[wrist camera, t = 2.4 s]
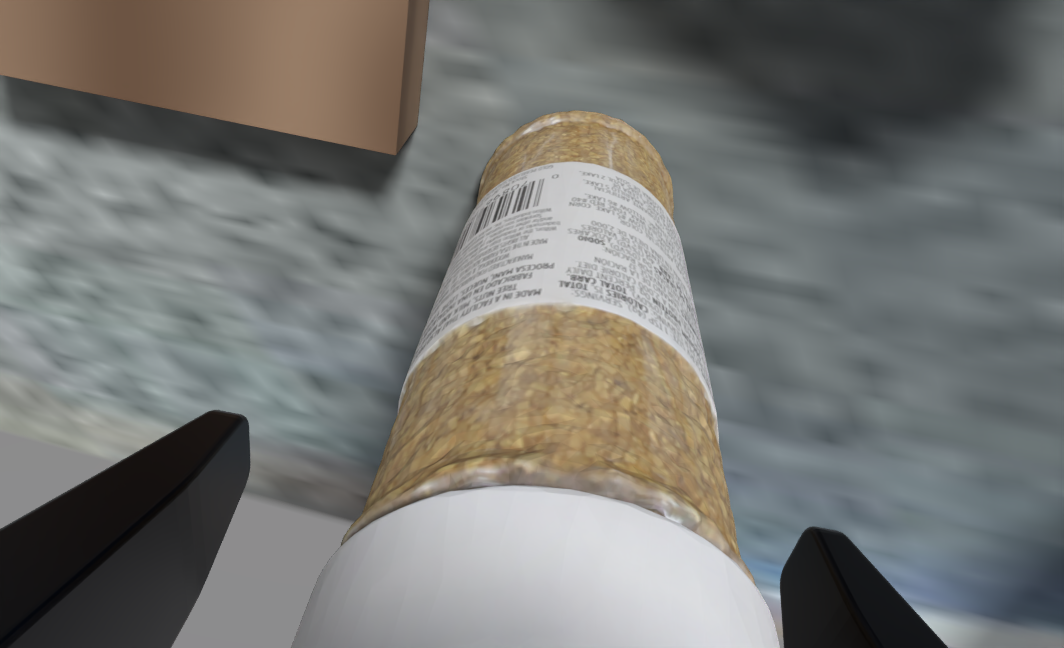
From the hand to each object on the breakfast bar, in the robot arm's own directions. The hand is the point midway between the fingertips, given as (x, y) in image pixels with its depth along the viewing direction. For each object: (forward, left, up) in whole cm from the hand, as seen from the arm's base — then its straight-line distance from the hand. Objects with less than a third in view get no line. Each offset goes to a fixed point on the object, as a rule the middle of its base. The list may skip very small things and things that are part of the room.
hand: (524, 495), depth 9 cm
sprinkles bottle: (0, 0, -10) cm, 10 cm away
